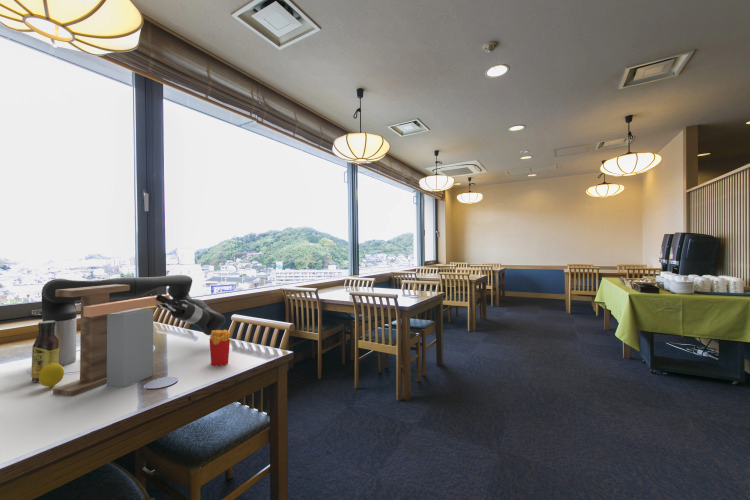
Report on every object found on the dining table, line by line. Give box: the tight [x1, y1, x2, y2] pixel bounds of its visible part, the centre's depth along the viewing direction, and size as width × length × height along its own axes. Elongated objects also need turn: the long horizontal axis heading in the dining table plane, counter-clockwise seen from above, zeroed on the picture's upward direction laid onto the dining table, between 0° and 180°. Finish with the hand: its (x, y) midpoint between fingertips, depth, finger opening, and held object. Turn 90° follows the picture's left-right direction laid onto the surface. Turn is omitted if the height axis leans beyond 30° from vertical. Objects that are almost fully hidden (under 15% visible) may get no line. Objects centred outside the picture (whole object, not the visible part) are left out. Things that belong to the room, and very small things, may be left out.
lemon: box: [38, 362, 65, 388], centre depth 96 cm, size 6×6×8 cm
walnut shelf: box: [52, 284, 130, 397], centre depth 99 cm, size 8×17×32 cm, turn 167°
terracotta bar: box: [83, 294, 170, 317], centre depth 102 cm, size 3×26×3 cm, turn 167°
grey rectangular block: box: [106, 308, 154, 388], centre depth 102 cm, size 7×10×24 cm
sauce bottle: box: [30, 320, 59, 383], centre depth 102 cm, size 7×6×20 cm
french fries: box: [209, 329, 231, 367], centre depth 117 cm, size 9×4×13 cm, turn 68°
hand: (153, 296), depth 110 cm, fingers closed on terracotta bar, 2 cm apart
